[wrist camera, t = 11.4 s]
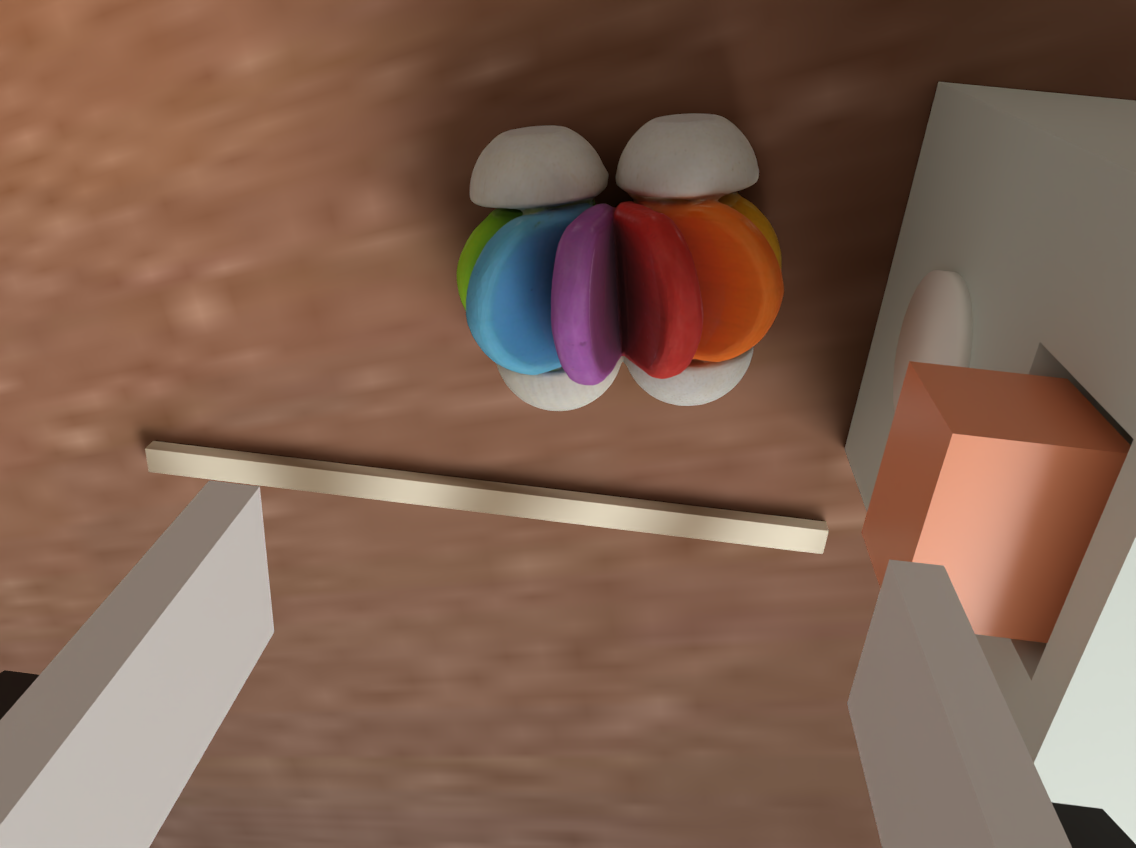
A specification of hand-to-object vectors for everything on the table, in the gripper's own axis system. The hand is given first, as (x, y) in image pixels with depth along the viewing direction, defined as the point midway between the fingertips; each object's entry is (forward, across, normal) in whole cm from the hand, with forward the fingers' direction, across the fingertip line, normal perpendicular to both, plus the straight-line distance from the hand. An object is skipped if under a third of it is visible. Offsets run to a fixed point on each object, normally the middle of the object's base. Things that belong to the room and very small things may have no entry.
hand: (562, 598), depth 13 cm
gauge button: (+6, +8, 0) cm, 10 cm away
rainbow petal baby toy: (+18, 0, 0) cm, 18 cm away
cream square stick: (+17, -4, -10) cm, 20 cm away
